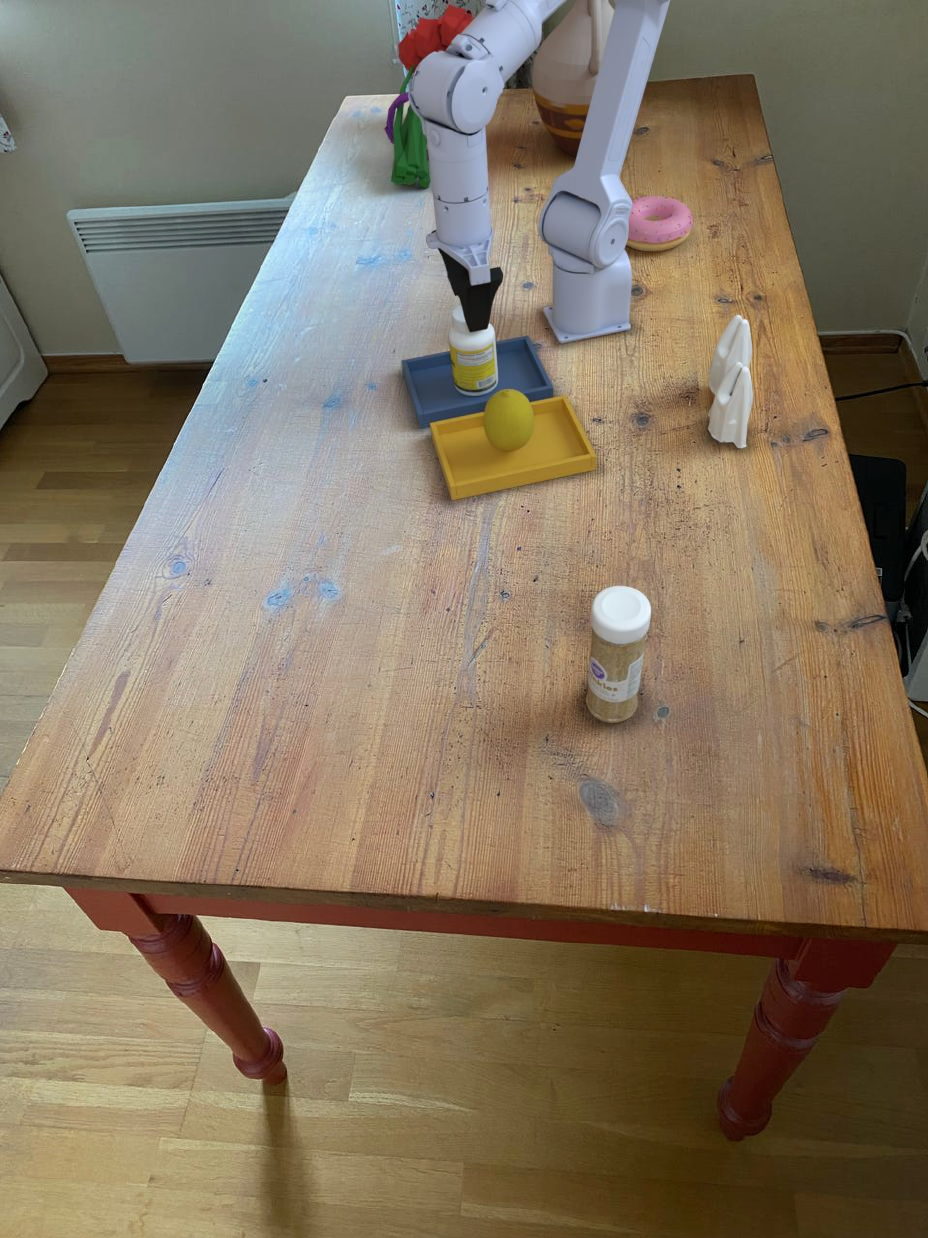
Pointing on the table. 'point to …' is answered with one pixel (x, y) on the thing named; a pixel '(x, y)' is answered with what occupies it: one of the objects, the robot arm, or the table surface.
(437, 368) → the blue tray
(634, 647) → the sprinkles bottle
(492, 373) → the supplement bottle
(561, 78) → the jug
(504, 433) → the lemon
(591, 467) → the yellow tray
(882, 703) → the table surface
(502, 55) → the robot arm
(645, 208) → the doughnut
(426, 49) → the bouquet
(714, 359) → the shaker set
